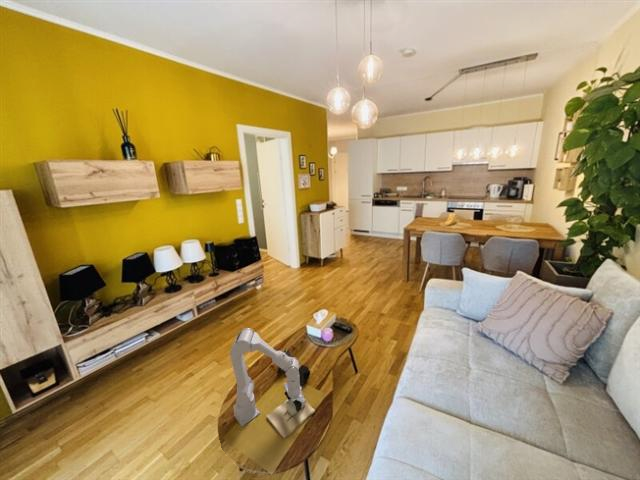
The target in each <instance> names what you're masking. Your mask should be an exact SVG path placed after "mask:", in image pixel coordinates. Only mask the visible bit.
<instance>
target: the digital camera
mask: <svg viewBox="0 0 640 480" xmlns="http://www.w3.org/2000/svg"><path fill="white" fill-rule="evenodd" d="M310 376H311V370H310V369H309V366H306V365H303V364H301V365H300V366H299V378H300V386H301V387H302V388H303V386H304V385H305V384H306V383H307V381H308V380H309V378H310Z"/></svg>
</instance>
